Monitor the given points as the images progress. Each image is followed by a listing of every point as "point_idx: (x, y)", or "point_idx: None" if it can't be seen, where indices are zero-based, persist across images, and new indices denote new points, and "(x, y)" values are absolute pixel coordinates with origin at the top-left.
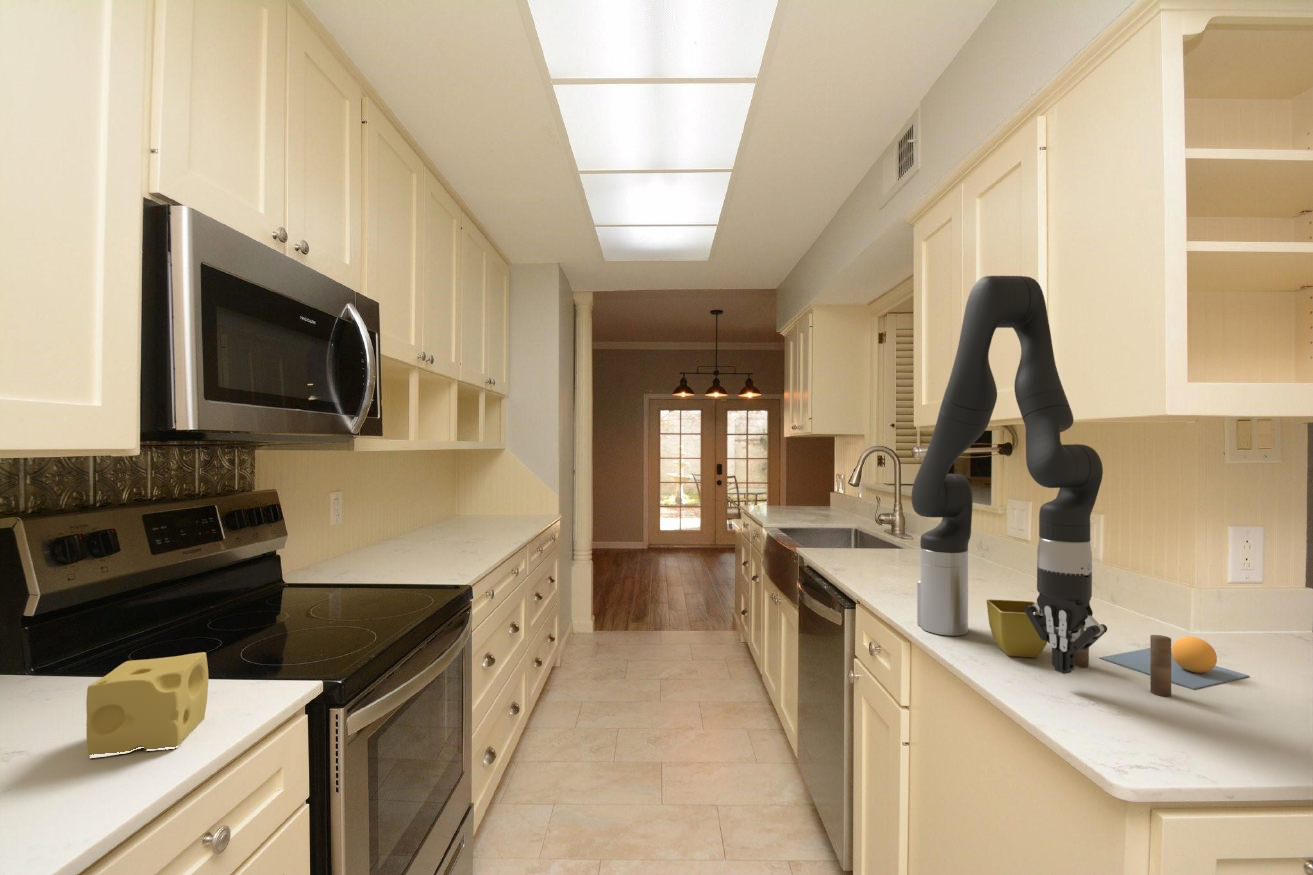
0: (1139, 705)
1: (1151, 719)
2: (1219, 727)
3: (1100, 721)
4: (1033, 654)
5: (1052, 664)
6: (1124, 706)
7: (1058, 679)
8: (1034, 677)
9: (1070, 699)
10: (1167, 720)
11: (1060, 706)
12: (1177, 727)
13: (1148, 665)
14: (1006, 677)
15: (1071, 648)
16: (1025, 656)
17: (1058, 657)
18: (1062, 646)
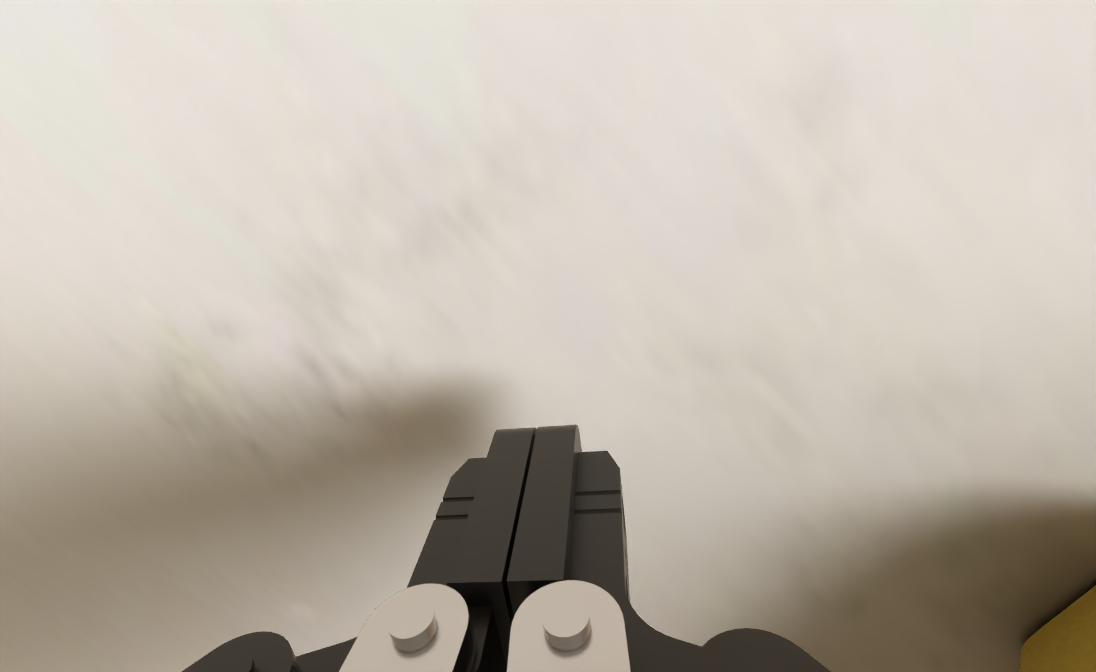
0: (283, 564)
1: (118, 476)
2: (63, 639)
3: (60, 184)
4: (1044, 648)
5: (610, 457)
6: (274, 493)
7: (690, 489)
8: (782, 376)
9: (395, 294)
10: (113, 529)
11: (291, 117)
12: (38, 502)
13: None
14: (885, 160)
15: (283, 658)
16: (1076, 602)
17: (521, 514)
18: (403, 636)
